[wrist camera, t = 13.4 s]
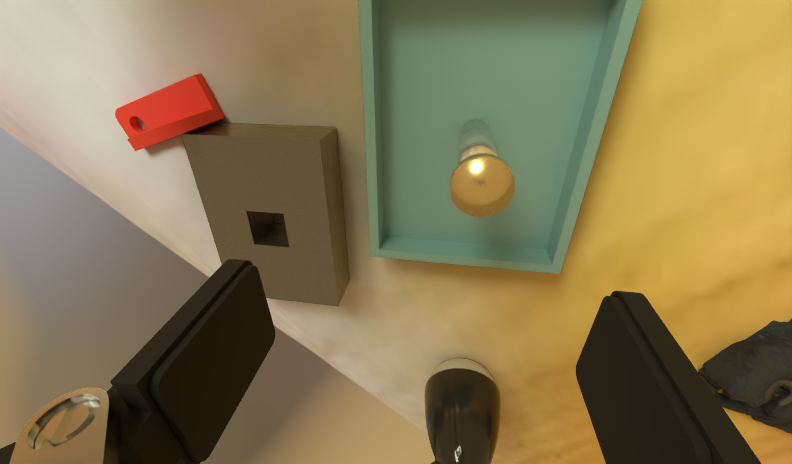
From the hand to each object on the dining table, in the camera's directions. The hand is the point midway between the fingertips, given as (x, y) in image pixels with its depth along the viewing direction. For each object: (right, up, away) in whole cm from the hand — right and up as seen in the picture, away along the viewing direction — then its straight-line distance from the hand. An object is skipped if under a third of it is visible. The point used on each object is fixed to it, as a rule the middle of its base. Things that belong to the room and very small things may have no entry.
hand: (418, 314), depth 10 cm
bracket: (-25, +16, +28) cm, 41 cm away
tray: (+7, +12, +24) cm, 28 cm away
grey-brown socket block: (-14, +5, +32) cm, 35 cm away
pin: (+7, +12, +23) cm, 27 cm away
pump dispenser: (+9, -18, +42) cm, 46 cm away
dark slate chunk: (+49, -16, +33) cm, 61 cm away
